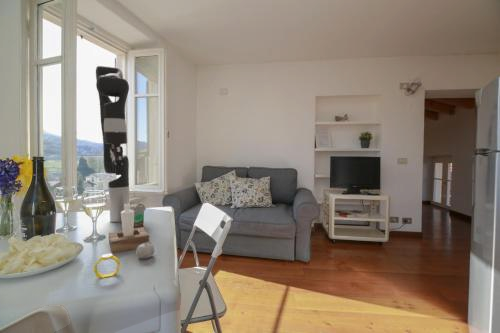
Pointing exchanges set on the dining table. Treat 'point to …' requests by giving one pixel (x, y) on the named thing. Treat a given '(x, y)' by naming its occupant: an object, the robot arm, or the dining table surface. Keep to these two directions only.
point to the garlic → (145, 250)
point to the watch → (106, 257)
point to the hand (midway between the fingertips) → (117, 173)
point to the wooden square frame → (127, 240)
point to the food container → (138, 215)
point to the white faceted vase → (127, 220)
